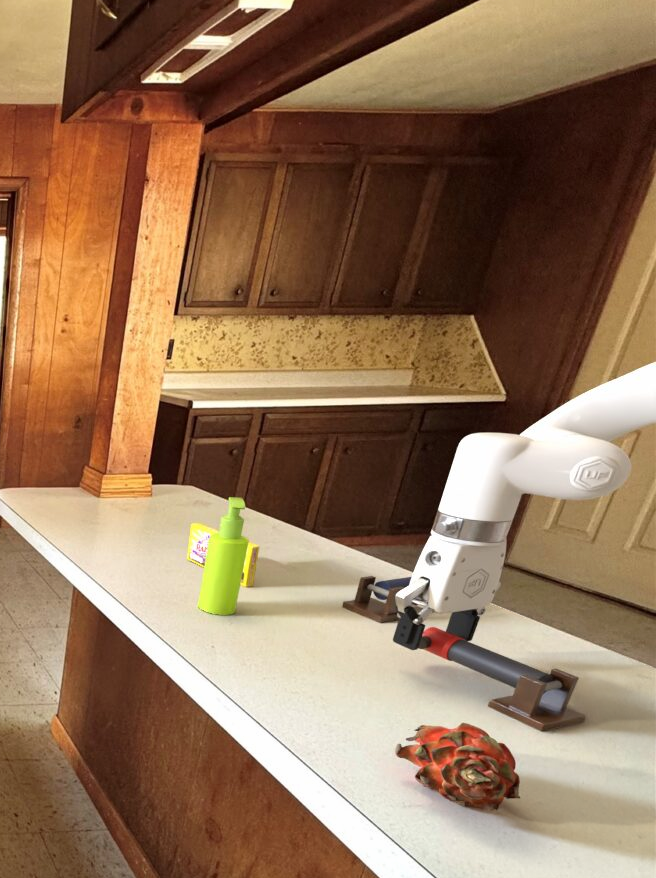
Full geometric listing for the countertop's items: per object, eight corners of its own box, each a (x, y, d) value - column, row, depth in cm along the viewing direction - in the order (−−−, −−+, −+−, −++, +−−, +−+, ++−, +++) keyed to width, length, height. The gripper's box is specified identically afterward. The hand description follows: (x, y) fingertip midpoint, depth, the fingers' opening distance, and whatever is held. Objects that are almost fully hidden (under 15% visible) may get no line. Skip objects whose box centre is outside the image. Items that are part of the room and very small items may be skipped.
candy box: (184, 560, 140) (190, 523, 137) (193, 559, 140) (199, 522, 137) (244, 587, 125) (252, 546, 122) (253, 586, 126) (262, 545, 122)
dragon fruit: (477, 846, 66) (404, 784, 77) (570, 808, 63) (480, 749, 75) (433, 779, 65) (366, 727, 77) (526, 738, 63) (442, 690, 74)
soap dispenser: (199, 615, 114) (218, 503, 107) (196, 600, 120) (214, 493, 113) (237, 619, 112) (260, 505, 105) (232, 604, 118) (254, 495, 111)
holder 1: (369, 602, 117) (377, 573, 115) (408, 618, 111) (417, 587, 109) (341, 606, 116) (349, 577, 114) (379, 622, 109) (388, 592, 107)
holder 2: (487, 706, 86) (500, 669, 84) (527, 697, 87) (542, 661, 85) (541, 731, 80) (557, 692, 78) (583, 722, 82) (600, 683, 80)
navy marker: (429, 585, 118) (434, 566, 116) (460, 595, 113) (466, 576, 112) (361, 595, 115) (366, 576, 113) (390, 606, 110) (395, 587, 109)
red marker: (410, 651, 96) (417, 629, 94) (438, 646, 97) (445, 624, 95) (529, 704, 82) (539, 679, 81) (560, 697, 83) (570, 673, 82)
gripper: (448, 542, 83) (409, 661, 90) (551, 529, 87) (506, 645, 93) (391, 525, 90) (358, 637, 96) (488, 514, 94) (451, 623, 100)
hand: (431, 641), depth 95 cm, fingers open, 9 cm apart
